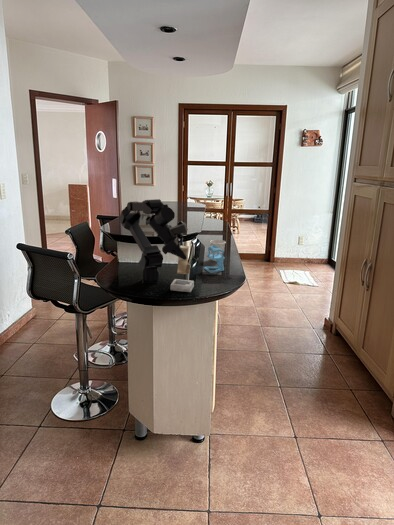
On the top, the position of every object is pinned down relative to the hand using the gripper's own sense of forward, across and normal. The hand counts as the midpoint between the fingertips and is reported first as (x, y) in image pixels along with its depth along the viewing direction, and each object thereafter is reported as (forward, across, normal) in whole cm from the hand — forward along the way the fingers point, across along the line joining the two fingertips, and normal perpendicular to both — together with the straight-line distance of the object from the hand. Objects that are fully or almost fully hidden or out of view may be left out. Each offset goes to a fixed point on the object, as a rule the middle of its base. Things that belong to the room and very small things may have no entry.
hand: (186, 257), depth 150 cm
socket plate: (+8, -2, +10) cm, 13 cm away
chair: (+17, +25, +1) cm, 30 cm away
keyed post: (+4, 0, +6) cm, 7 cm away
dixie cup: (+17, +43, +1) cm, 47 cm away
